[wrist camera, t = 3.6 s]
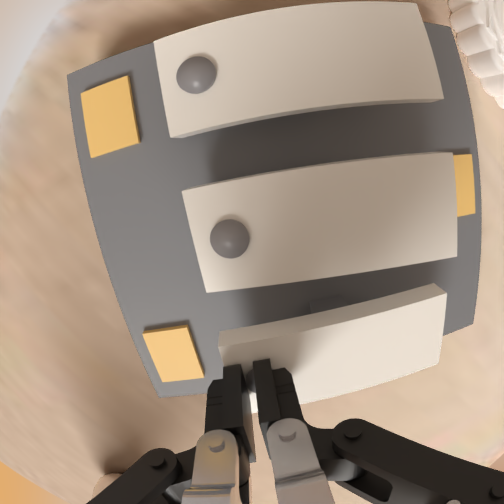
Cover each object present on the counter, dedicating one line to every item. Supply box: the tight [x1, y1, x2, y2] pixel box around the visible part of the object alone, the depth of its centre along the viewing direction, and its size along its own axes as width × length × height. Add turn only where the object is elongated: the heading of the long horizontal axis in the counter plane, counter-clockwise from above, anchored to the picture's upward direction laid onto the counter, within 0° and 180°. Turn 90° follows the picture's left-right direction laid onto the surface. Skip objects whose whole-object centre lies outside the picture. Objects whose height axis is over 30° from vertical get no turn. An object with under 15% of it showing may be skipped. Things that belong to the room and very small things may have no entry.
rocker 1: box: [153, 1, 444, 138], centre depth 9 cm, size 10×4×1 cm, turn 101°
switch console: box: [67, 22, 481, 398], centre depth 14 cm, size 20×18×4 cm
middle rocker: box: [182, 152, 457, 293], centre depth 11 cm, size 10×4×1 cm, turn 101°
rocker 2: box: [218, 283, 447, 413], centre depth 13 cm, size 10×4×1 cm, turn 101°
